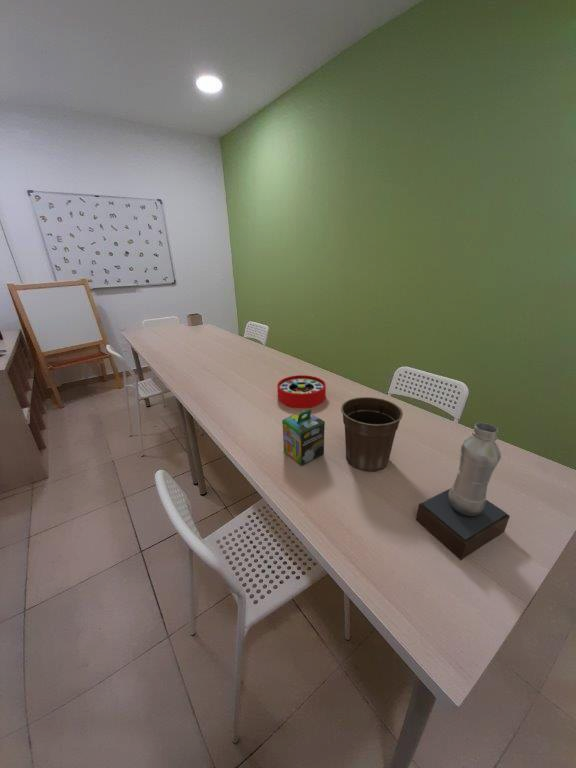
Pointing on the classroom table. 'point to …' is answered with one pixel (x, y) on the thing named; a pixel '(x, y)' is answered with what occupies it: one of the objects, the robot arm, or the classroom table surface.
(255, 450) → the classroom table surface
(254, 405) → the classroom table surface
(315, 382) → the toy clock
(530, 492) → the classroom table surface
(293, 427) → the chalk box
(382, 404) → the plant pot
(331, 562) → the classroom table surface
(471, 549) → the step block
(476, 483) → the plastic bottle
